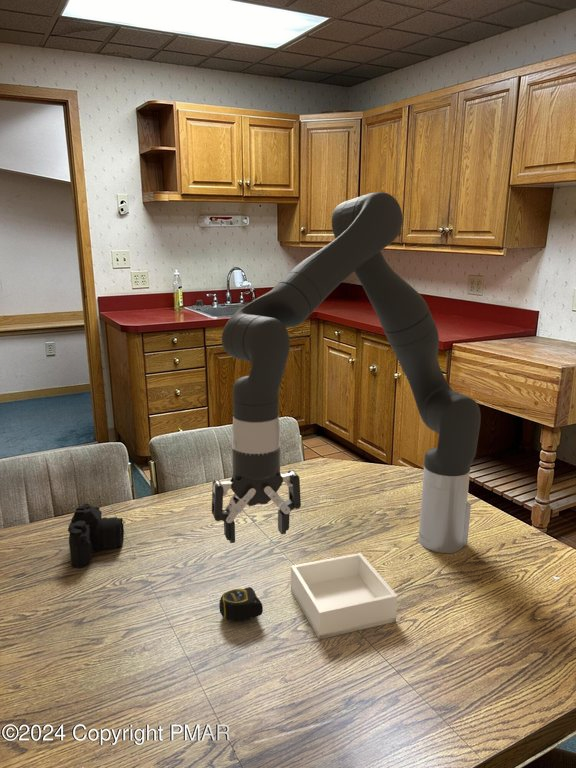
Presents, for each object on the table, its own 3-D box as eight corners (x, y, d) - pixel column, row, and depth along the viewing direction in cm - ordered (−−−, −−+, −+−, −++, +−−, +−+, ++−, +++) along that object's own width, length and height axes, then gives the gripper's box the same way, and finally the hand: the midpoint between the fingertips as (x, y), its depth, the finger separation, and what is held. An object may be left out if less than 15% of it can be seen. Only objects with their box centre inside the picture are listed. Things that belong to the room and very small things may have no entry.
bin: (359, 576, 109) (360, 552, 108) (395, 621, 96) (397, 595, 95) (290, 589, 105) (290, 565, 103) (319, 639, 92) (319, 612, 91)
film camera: (118, 567, 112) (114, 526, 109) (66, 571, 110) (62, 530, 108) (127, 529, 126) (124, 492, 124) (81, 532, 125) (77, 495, 122)
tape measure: (264, 621, 95) (263, 599, 94) (223, 629, 93) (222, 607, 92) (255, 604, 101) (254, 583, 101) (217, 611, 99) (215, 590, 99)
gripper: (291, 430, 94) (290, 519, 98) (206, 439, 90) (209, 532, 94) (307, 446, 87) (305, 540, 92) (216, 456, 83) (218, 555, 87)
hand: (256, 536), depth 93 cm, fingers open, 8 cm apart
